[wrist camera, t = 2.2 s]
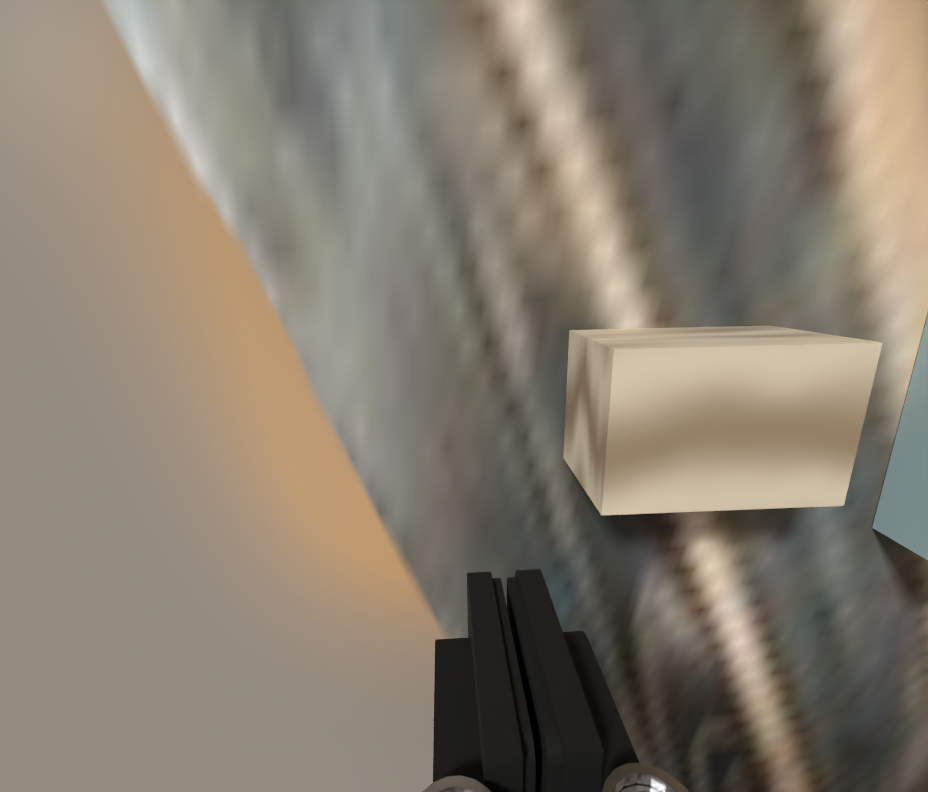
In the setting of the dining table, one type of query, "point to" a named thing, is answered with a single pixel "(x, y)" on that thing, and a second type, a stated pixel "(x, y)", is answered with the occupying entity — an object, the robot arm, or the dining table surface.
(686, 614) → the dining table surface
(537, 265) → the dining table surface
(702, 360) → the maple brick
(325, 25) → the dining table surface
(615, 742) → the robot arm
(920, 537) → the board
